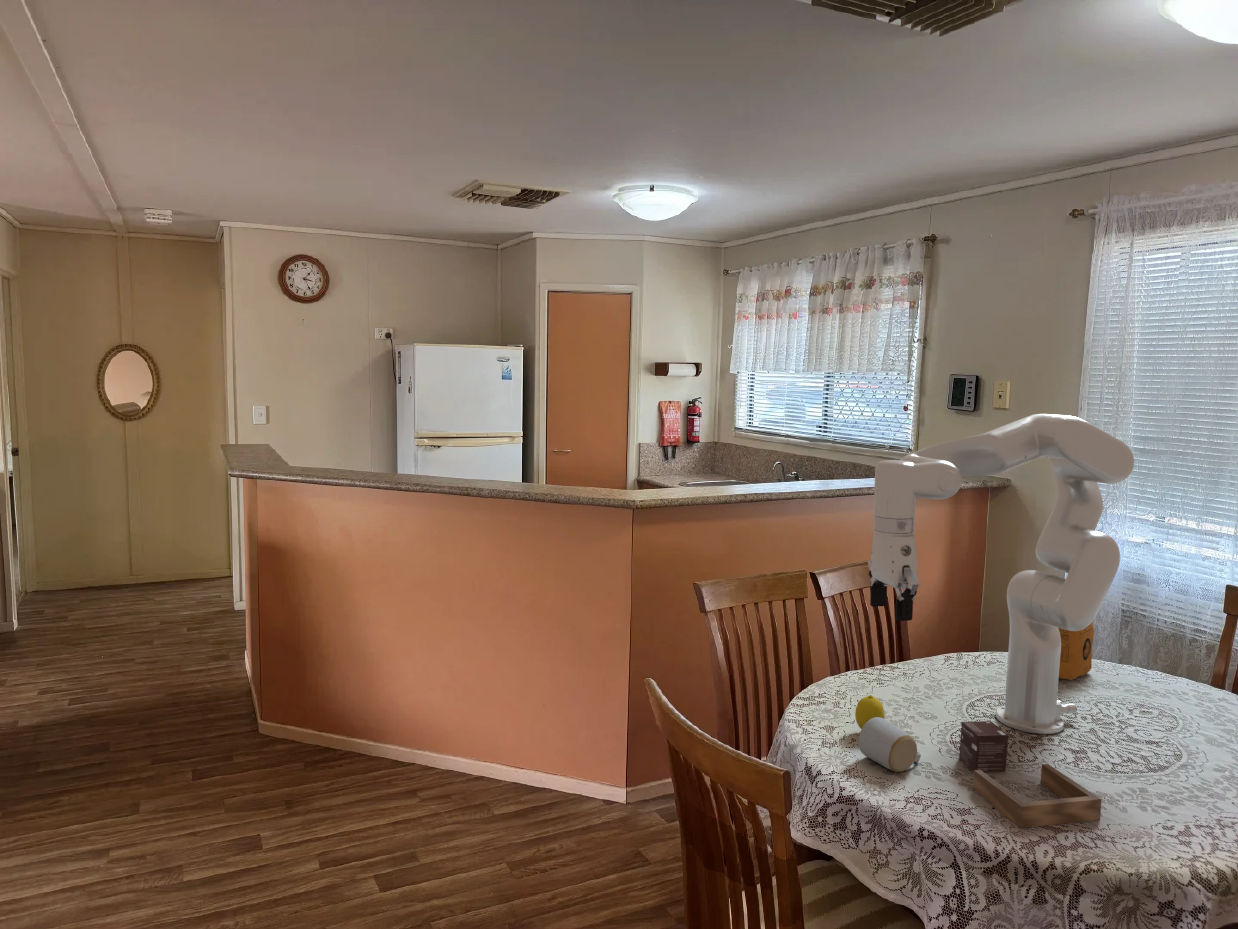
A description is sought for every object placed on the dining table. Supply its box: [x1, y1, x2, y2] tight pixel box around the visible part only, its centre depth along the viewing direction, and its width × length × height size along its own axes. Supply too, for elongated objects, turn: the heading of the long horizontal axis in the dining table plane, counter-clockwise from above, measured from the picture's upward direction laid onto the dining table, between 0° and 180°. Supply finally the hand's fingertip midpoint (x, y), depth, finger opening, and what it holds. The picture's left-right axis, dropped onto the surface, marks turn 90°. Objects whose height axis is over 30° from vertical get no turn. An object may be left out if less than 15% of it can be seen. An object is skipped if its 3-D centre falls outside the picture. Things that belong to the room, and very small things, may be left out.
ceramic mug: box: [857, 717, 922, 773], centre depth 153 cm, size 11×8×8 cm
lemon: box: [854, 694, 885, 730], centre depth 165 cm, size 6×6×8 cm
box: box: [958, 720, 1009, 774], centre depth 152 cm, size 6×6×7 cm
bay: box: [972, 763, 1102, 829], centre depth 138 cm, size 14×12×4 cm
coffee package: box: [1059, 621, 1095, 681], centre depth 200 cm, size 10×12×22 cm
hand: (890, 613), depth 160 cm, fingers open, 9 cm apart
